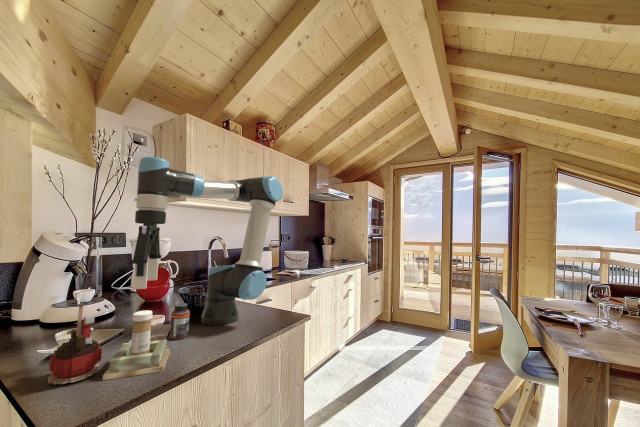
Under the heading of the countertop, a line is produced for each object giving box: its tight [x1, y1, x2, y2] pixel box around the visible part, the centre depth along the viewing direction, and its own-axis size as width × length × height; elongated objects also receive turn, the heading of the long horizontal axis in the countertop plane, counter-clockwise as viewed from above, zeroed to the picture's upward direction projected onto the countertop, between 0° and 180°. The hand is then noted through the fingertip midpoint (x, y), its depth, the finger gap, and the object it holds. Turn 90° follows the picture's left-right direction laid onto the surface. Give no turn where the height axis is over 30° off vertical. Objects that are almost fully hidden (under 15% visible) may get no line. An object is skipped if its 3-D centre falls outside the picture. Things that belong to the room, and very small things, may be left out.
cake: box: [47, 303, 103, 385], centre depth 67 cm, size 11×9×18 cm
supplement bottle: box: [169, 302, 191, 341], centre depth 94 cm, size 6×6×11 cm
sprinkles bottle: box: [130, 309, 153, 355], centre depth 72 cm, size 5×5×14 cm
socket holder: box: [102, 339, 171, 381], centre depth 73 cm, size 13×12×4 cm
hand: (146, 284), depth 75 cm, fingers open, 13 cm apart
